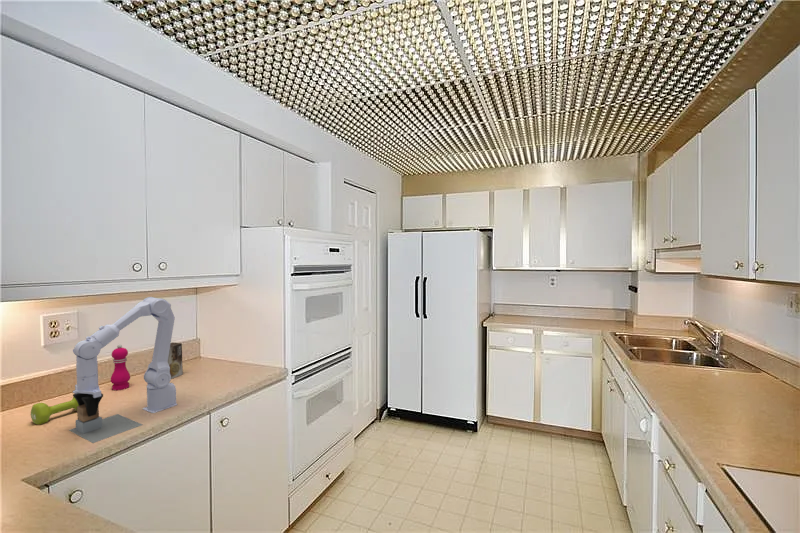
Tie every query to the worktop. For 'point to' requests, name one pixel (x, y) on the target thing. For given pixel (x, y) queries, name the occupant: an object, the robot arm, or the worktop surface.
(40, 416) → the dumbbell
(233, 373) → the worktop surface
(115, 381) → the pepper mill
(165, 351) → the robot arm
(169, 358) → the coffee box
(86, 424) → the base block
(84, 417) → the walnut block
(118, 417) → the mat
